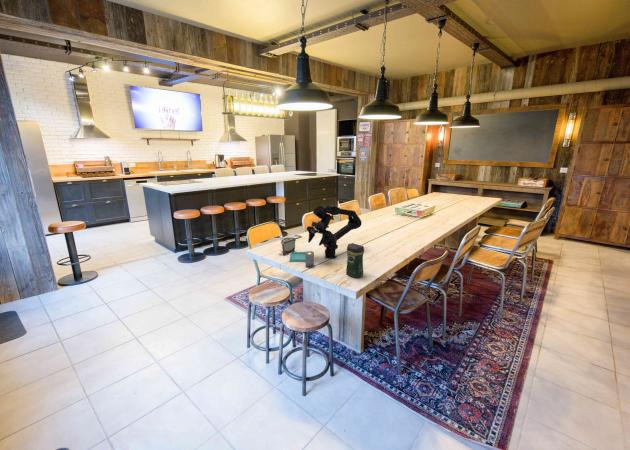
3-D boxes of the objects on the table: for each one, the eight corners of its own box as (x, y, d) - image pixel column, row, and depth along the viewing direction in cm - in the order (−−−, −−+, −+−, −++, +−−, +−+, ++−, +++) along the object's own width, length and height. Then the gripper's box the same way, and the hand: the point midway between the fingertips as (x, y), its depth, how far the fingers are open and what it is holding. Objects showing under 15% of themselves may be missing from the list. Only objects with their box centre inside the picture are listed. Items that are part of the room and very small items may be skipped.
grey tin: (313, 264, 185) (313, 251, 183) (314, 267, 180) (313, 254, 178) (305, 264, 185) (305, 251, 183) (305, 267, 180) (305, 254, 178)
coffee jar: (365, 275, 169) (366, 245, 165) (356, 279, 164) (357, 248, 160) (352, 270, 176) (353, 240, 172) (343, 274, 171) (344, 243, 167)
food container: (289, 249, 212) (289, 236, 209) (296, 251, 208) (295, 237, 206) (277, 254, 203) (276, 240, 200) (283, 256, 199) (283, 242, 196)
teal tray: (311, 254, 203) (311, 251, 202) (311, 261, 189) (311, 259, 189) (290, 254, 203) (290, 252, 202) (289, 261, 189) (289, 259, 189)
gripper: (307, 214, 189) (296, 235, 185) (329, 218, 176) (318, 241, 172) (316, 222, 196) (306, 242, 192) (338, 227, 184) (327, 249, 180)
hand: (313, 243), depth 184 cm, fingers open, 9 cm apart
